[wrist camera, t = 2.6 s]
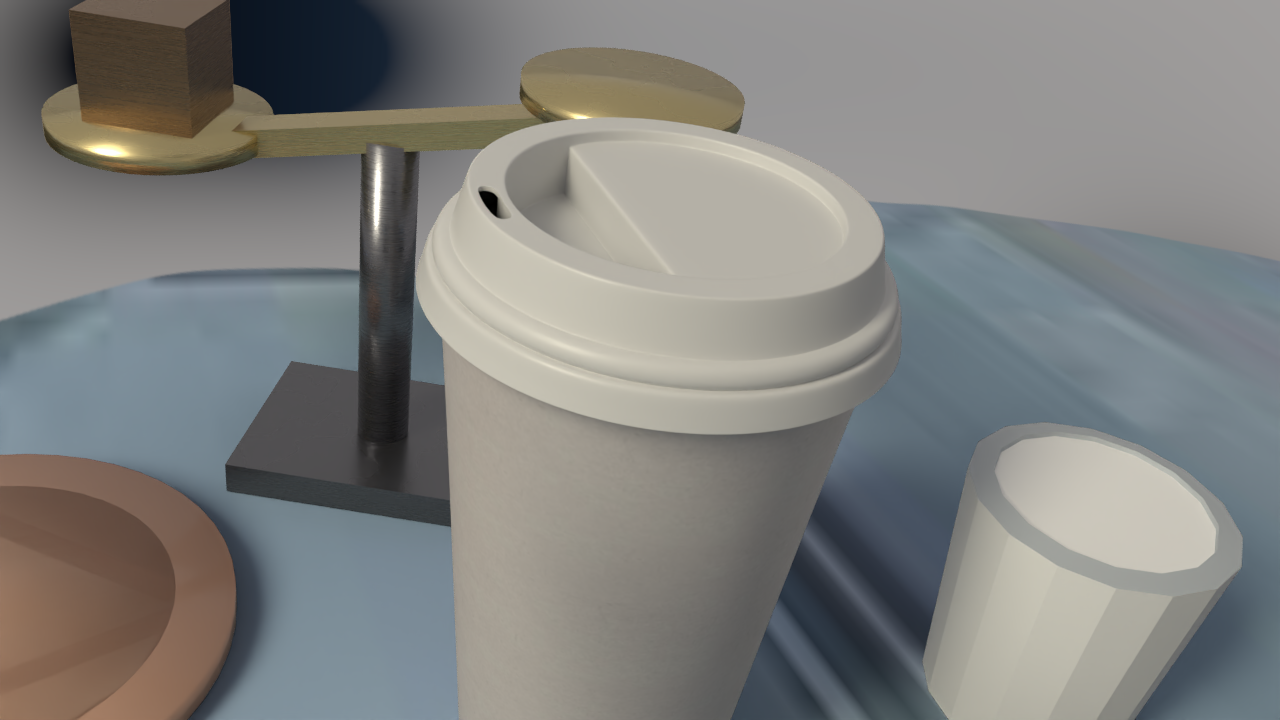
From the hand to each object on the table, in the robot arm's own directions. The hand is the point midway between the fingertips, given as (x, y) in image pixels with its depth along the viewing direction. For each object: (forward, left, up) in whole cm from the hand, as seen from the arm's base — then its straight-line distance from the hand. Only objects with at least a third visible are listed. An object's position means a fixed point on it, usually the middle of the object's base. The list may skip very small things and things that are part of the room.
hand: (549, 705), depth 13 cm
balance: (+7, -22, -14) cm, 27 cm away
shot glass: (-13, -16, -14) cm, 25 cm away
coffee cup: (-1, -12, -14) cm, 19 cm away
